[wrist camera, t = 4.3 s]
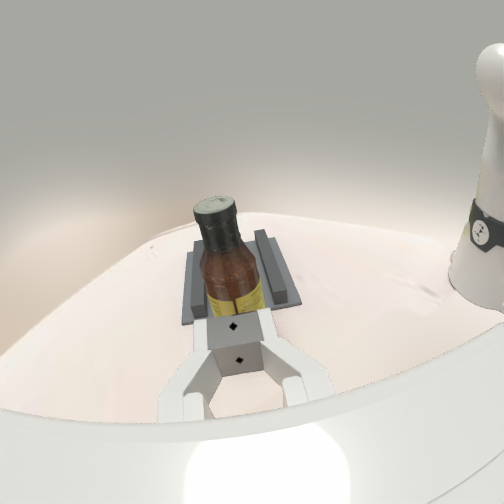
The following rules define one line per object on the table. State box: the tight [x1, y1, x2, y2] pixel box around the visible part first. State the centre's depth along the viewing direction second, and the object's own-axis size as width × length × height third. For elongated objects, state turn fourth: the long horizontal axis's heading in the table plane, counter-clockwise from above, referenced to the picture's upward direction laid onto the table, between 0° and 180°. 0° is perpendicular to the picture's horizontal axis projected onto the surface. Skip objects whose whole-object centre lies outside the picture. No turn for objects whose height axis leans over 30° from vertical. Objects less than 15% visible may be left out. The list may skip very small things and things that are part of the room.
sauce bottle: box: [193, 196, 265, 317], centre depth 32 cm, size 7×6×20 cm
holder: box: [182, 229, 302, 325], centre depth 49 cm, size 18×20×3 cm
